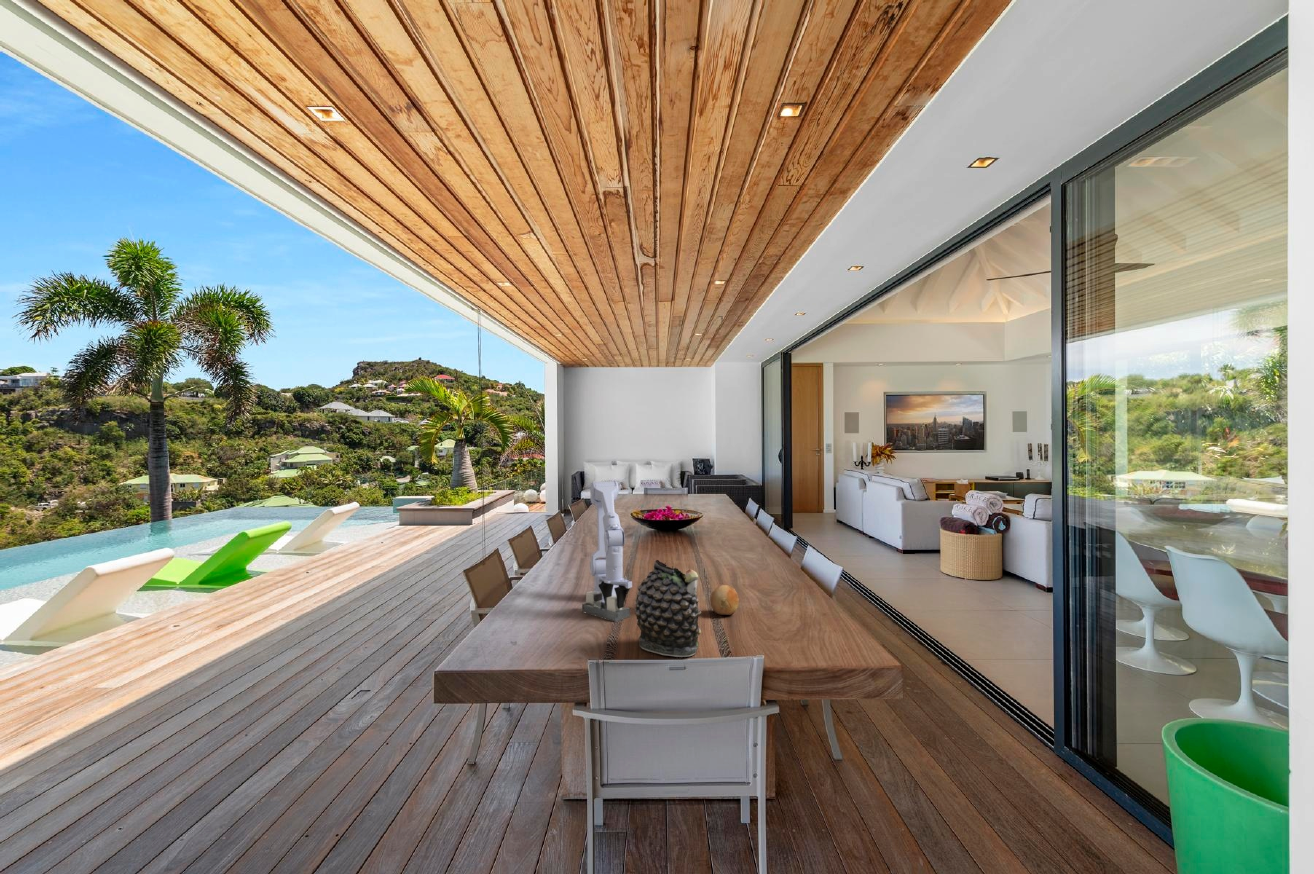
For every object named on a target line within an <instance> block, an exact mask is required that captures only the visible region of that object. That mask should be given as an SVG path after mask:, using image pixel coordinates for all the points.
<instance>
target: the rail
mask: <svg viewBox="0 0 1314 874" xmlns="http://www.w3.org/2000/svg"><path fill="white" fill-rule="evenodd" d="M585 598H586V599H585V600H586V601H585V602H583V603H582V604H581V605H582V606H581V608H582V610H581V613H583V612H586V613H588V614H587V615H590V614H591V616H593V615H596V616H595V617H597V616H598V618H600V617H603V618H602V619H604V618H606V619H605V620H608V621H611V620H612V621H611V622H615V623H616V622H619V621H621V620H625V619H627V617H628V618H631V608H630V607H624V606H623V608H622V610H619V611H616V612H613V611H609V610H607V605H605V602H602V601H601V600H602V593H601V592H599V591H595V590H594V589H593V590H590V591H586V592H585ZM586 613H585V614H586Z"/></svg>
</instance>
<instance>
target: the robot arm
mask: <svg viewBox="0 0 1314 874" xmlns="http://www.w3.org/2000/svg"><path fill="white" fill-rule="evenodd" d="M589 487H590V488H589V490H590V491H589V492H590V493H589V494H590V504H592V505H595V508H596V525H597V526H596V529H597V531H596V532H597V533H596V535H597V536H596V537H597V549H596V550H594V552H592V553H591V555H590V561H589V571H590V575H592V577H594V578H593V579H594V589H593V590H595V591H599V592H601V593H602V600H601V601H602V602H605V605H606V598H607V597H611V596H614V595H615V596H617V607H618V608H623V607H624V605H625V602H626V598H627V596H628V594H629V591H630V590H631V589H632V588H633V581H630V580H628V579H627V578H624V577H623V576H624V574H623V573H624V571H623V569H624V568H623V567H624V566H623V565H624V563H623V562H624V558H623V557H624V552H623V551H624V548H623V547H625V544H626V543H625V542H626V536H625V531H624V529H623V527H621V521H620V516H619V514H618V513H616V511H615V504H616V501H617V499H618V496H619V483H618V482H617V480H612V481H593V480H592V481H591V482H590V486H589Z"/></svg>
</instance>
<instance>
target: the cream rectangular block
mask: <svg viewBox="0 0 1314 874" xmlns="http://www.w3.org/2000/svg"><path fill="white" fill-rule="evenodd" d="M606 605H607V610H609V611H613V612H616V611H619V610H622V608H618V607H617V596H615V595H614V596H611V597H607V598H606Z"/></svg>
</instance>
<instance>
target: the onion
mask: <svg viewBox="0 0 1314 874" xmlns="http://www.w3.org/2000/svg"><path fill="white" fill-rule="evenodd" d="M709 601H710V602H709V603H710V607H711V608H712V610H713V611H714V612H715V613H716V614H718V615H719V614H720V616H721V615H722V616H731V615H732V614H734V613H736V612H737V610H738V608H739V605H740V598H739V594H738V592H737V591H736V589H735V588H734V587H732V586H731V585H727V584H721V585H718V586H717V587H716V588H715V589H713V591H712V592H711V596H710V600H709Z"/></svg>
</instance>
